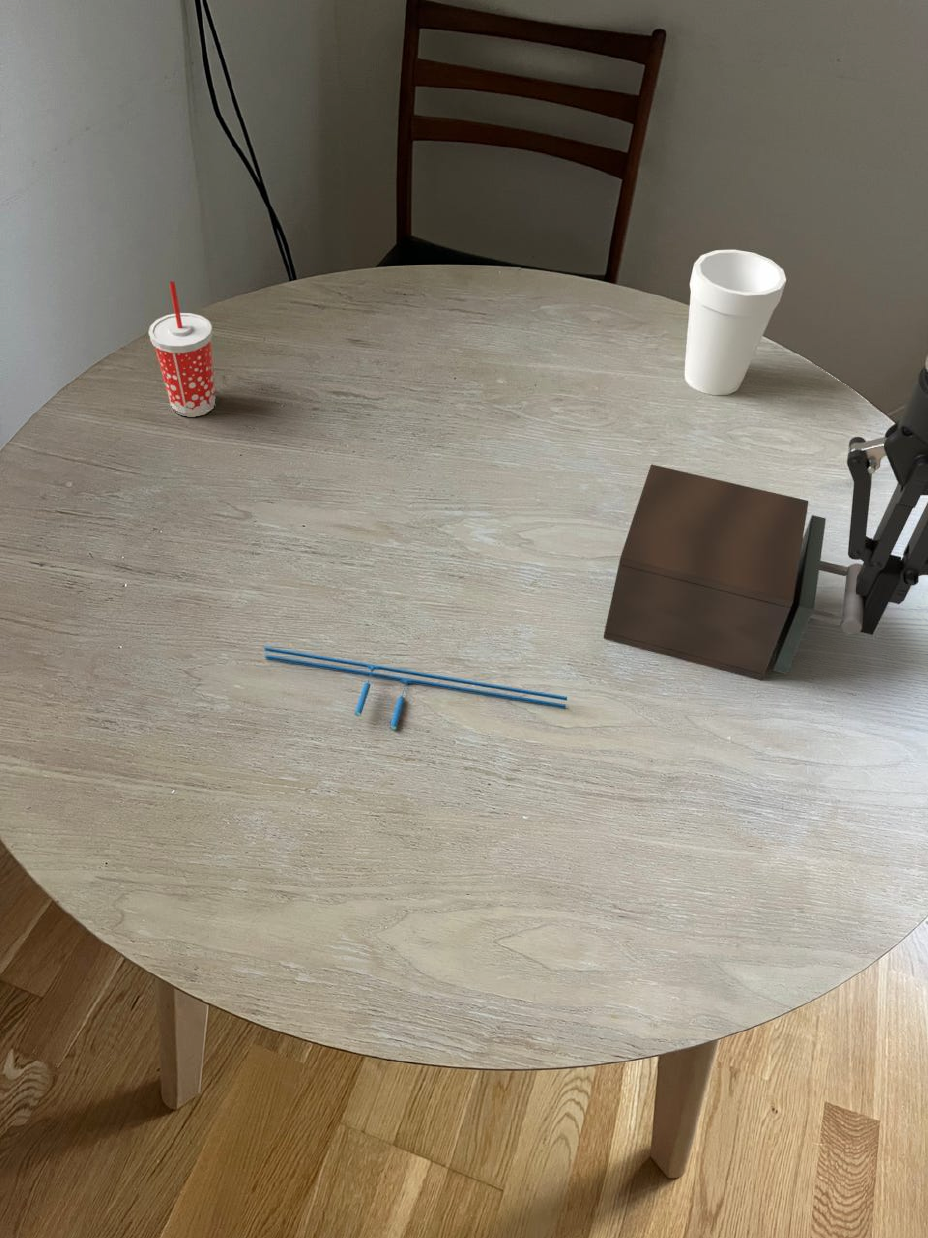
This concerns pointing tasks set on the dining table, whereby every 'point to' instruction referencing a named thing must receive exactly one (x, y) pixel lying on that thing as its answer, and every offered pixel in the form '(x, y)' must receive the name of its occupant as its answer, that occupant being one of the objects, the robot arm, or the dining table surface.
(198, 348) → the beverage cup
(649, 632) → the cabinet
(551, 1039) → the dining table surface
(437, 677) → the bar handle
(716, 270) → the foam cup
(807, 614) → the drawer
